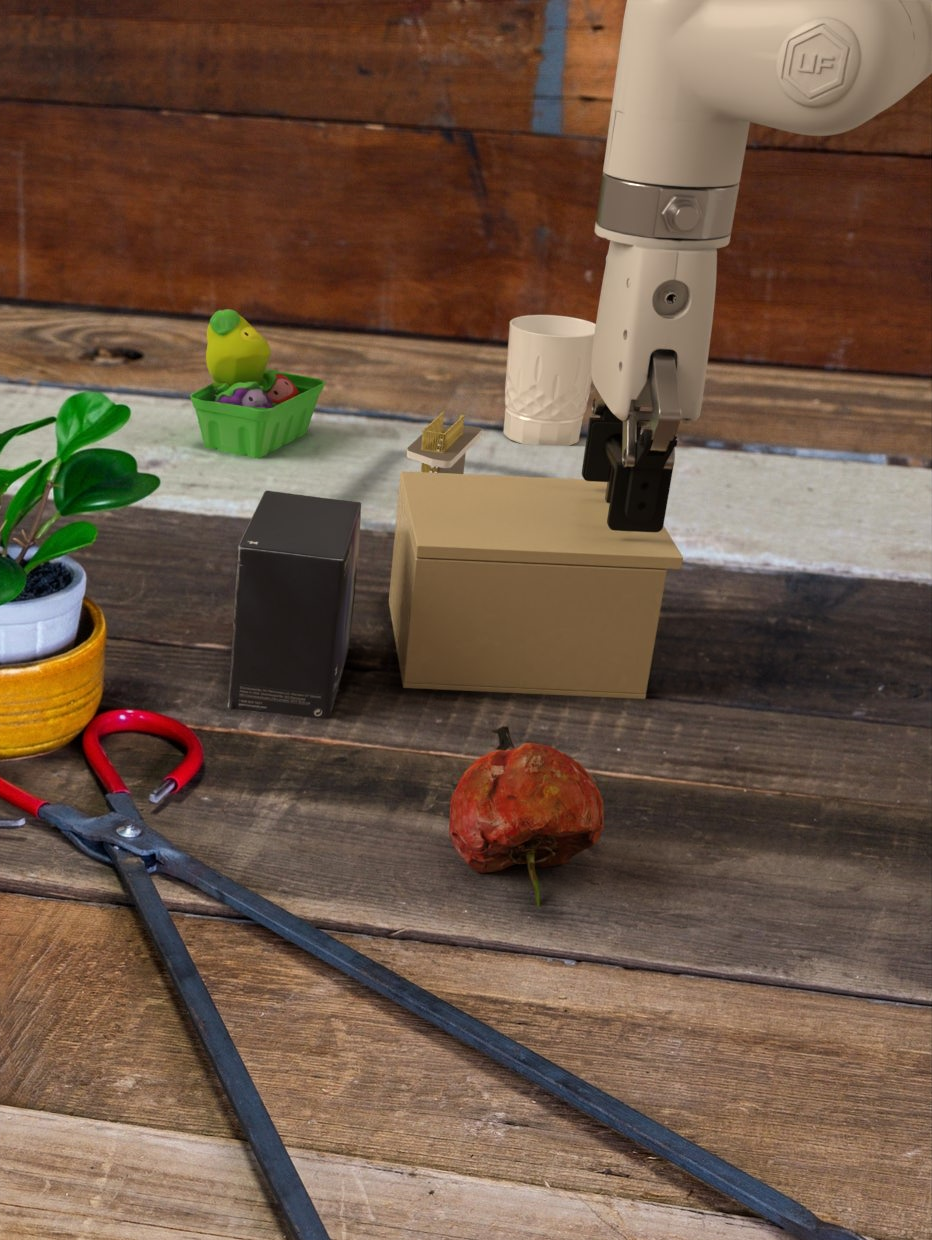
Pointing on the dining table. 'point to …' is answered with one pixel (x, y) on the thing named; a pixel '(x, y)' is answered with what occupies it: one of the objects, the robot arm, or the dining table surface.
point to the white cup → (547, 379)
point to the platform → (444, 446)
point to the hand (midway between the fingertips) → (619, 503)
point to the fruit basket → (249, 392)
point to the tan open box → (522, 624)
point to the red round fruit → (524, 809)
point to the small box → (293, 604)
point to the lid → (527, 520)
